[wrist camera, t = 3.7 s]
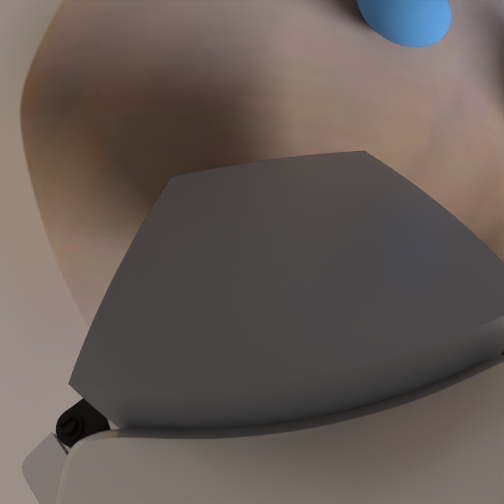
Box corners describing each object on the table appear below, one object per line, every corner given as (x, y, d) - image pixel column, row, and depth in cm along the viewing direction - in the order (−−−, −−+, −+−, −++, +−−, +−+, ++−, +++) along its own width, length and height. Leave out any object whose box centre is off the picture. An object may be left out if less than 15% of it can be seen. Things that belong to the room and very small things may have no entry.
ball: (408, -13, 9) (457, -29, 4) (420, 54, 11) (476, 55, 7) (334, -27, 9) (373, -60, 5) (349, 46, 11) (397, 33, 7)
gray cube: (364, 151, 10) (534, 299, 3) (356, 294, 14) (415, 446, 7) (171, 177, 10) (68, 384, 3) (213, 316, 15) (207, 483, 7)
